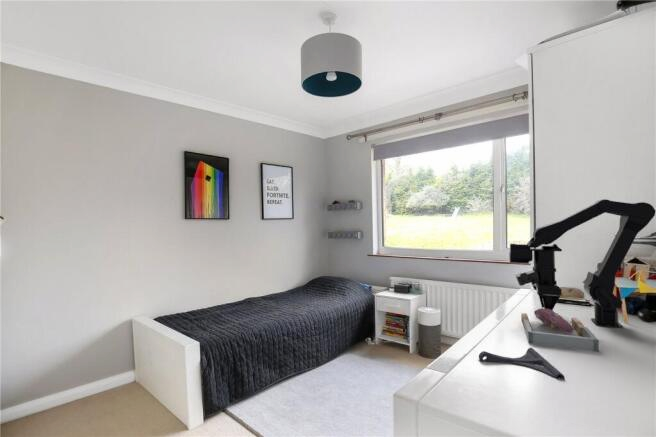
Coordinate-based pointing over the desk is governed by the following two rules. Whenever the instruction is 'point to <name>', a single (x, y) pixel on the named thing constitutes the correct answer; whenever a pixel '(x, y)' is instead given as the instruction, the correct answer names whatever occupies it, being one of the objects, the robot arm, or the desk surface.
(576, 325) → the pair of wooden bars
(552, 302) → the robot arm
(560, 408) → the desk surface
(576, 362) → the desk surface
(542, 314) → the video game controller
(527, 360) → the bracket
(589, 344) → the grey u-shaped frame
